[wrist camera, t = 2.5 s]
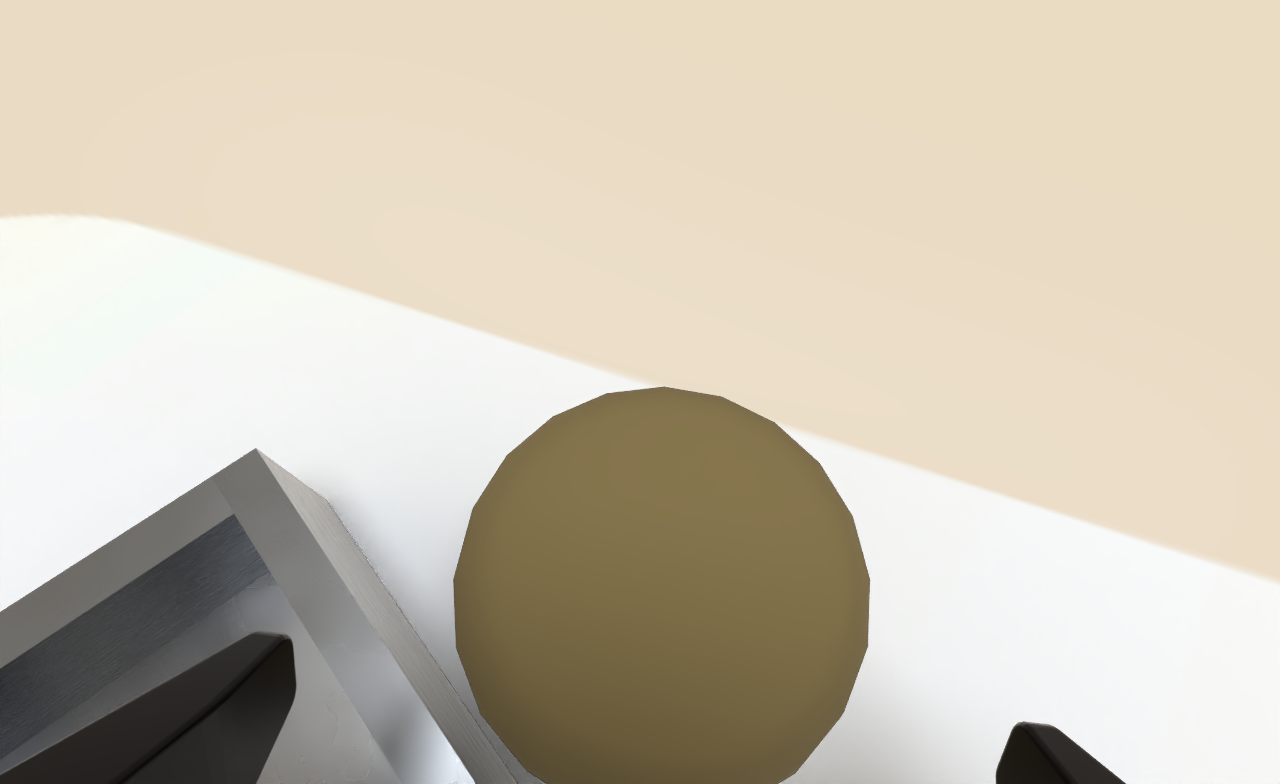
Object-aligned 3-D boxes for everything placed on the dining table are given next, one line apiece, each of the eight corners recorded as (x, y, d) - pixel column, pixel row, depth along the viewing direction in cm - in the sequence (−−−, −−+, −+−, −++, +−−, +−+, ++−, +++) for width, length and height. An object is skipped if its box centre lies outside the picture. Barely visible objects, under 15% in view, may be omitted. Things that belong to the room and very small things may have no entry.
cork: (471, 728, 17) (266, 762, 7) (564, 493, 19) (518, 256, 9) (717, 821, 16) (900, 1014, 6) (779, 567, 18) (986, 402, 8)
